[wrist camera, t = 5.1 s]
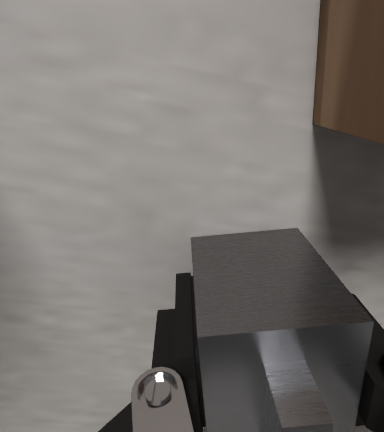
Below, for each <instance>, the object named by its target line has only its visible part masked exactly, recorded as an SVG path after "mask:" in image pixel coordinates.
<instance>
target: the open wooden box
mask: <svg viewBox="0 0 384 432" xmlns="http://www.w3.org/2000/svg"><path fill="white" fill-rule="evenodd" d="M313 124H315V125H318V126H322V127H325V128H329V129H332V130H336V131H339V132H343V133H346V134H350V135H353V136H357V137H360V138H364V139H367V140H371V141H374V142H378V143H381V144H384V0H321V6H320V21H319V37H318V52H317V67H316V83H315V98H314V114H313Z"/></svg>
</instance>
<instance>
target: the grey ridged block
mask: <svg viewBox="0 0 384 432" xmlns="http://www.w3.org/2000/svg"><path fill="white" fill-rule="evenodd" d="M191 246H192V261H193V277H194V293H195V309H196V325H197V340H198V349H199V359H200V369H201V379H202V389H203V399H204V409H205V419H206V429H207V432H354V429H355V424H356V418H357V413H358V407H359V402H360V396H361V391H362V385H363V380H364V374H365V369H366V363H367V358H368V352H369V347H370V341H371V336H372V330H373V325H374V321H373V320H372V319H371V317H370V316H369V315H368V314H367V312H366V311H365V310H364V309H363V308H362V306H361V305H360V304H359V303H358V301H357V300H356V299H355V298H354V297H353V295H352V294H351V293H350V292H349V290H348V289H347V288H346V287H345V286H344V284H343V283H342V282H341V281H340V279H339V278H338V277H337V276H336V275H335V273H334V272H333V271H332V270H331V268H330V267H329V266H328V265H327V264H326V262H325V261H324V260H323V259H322V257H321V256H320V255H319V254H318V253H317V251H316V250H315V249H314V248H313V246H312V245H311V244H310V243H309V242H308V240H307V239H306V238H305V237H304V235H303V234H302V233H301V232H300V231H299V229H298V228H293V229H282V230H271V231H260V232H249V233H238V234H226V235H215V236H204V237H193V238H191Z"/></svg>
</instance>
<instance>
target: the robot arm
mask: <svg viewBox="0 0 384 432" xmlns="http://www.w3.org/2000/svg"><path fill="white" fill-rule="evenodd" d="M351 294H352V293H351ZM352 295H353V297H354V298H355V299H356V300H357V301H358V303H359V304H360V305H361V306H362V308H363V309H364V310H365V311H366V312H367V314H368V315H369V316H370V317H371V319H372V320H373V321H374V325H373V330H372V336H371V341H370V347H369V352H368V358H367V363H366V369H365V374H364V380H363V385H362V391H361V396H360V402H359V407H358V413H357V418H356V424H355V426H361V425H365V426H366V428H368V429H370V430H371V431H372V432H384V329H383V328H382V327H381V326H380V324H379V323H378V322H377V321H376V320H375V318H374V317H373V316H372V315H371V314H370V312H369V311H368V310H367V309H366V308H365V306H364V305H363V304H362V303H361V302H360V300H359V299H358V298H357V297H356V296H355V295H354V294H352ZM131 401H132V402H131V403H130V404H128V405H127V406H126V407H125V408H124V409H123V410H122V411H121V412H120V413H118V414H117V415H116V416H115V417H114V418H113V419H112V420H111V421H110V422H108V423H107V424H106V425H105V426H104V427H103V428H102V429H101V430H100V431H98V432H203V429H202V427H206V419H205V409H204V399H203V389H202V379H201V369H200V359H199V349H198V340H197V325H196V309H195V293H194V277H193V276H191V274H190V273H180V274H176V300H175V309H168V310H158V313H157V322H156V332H155V341H154V351H153V360H152V369H150V370H147V371H146V372H144V373H143V374H141V375H140V376H139V377H138V379H137V380H136V381H135V383H134V385H133V387H132V393H131Z"/></svg>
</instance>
